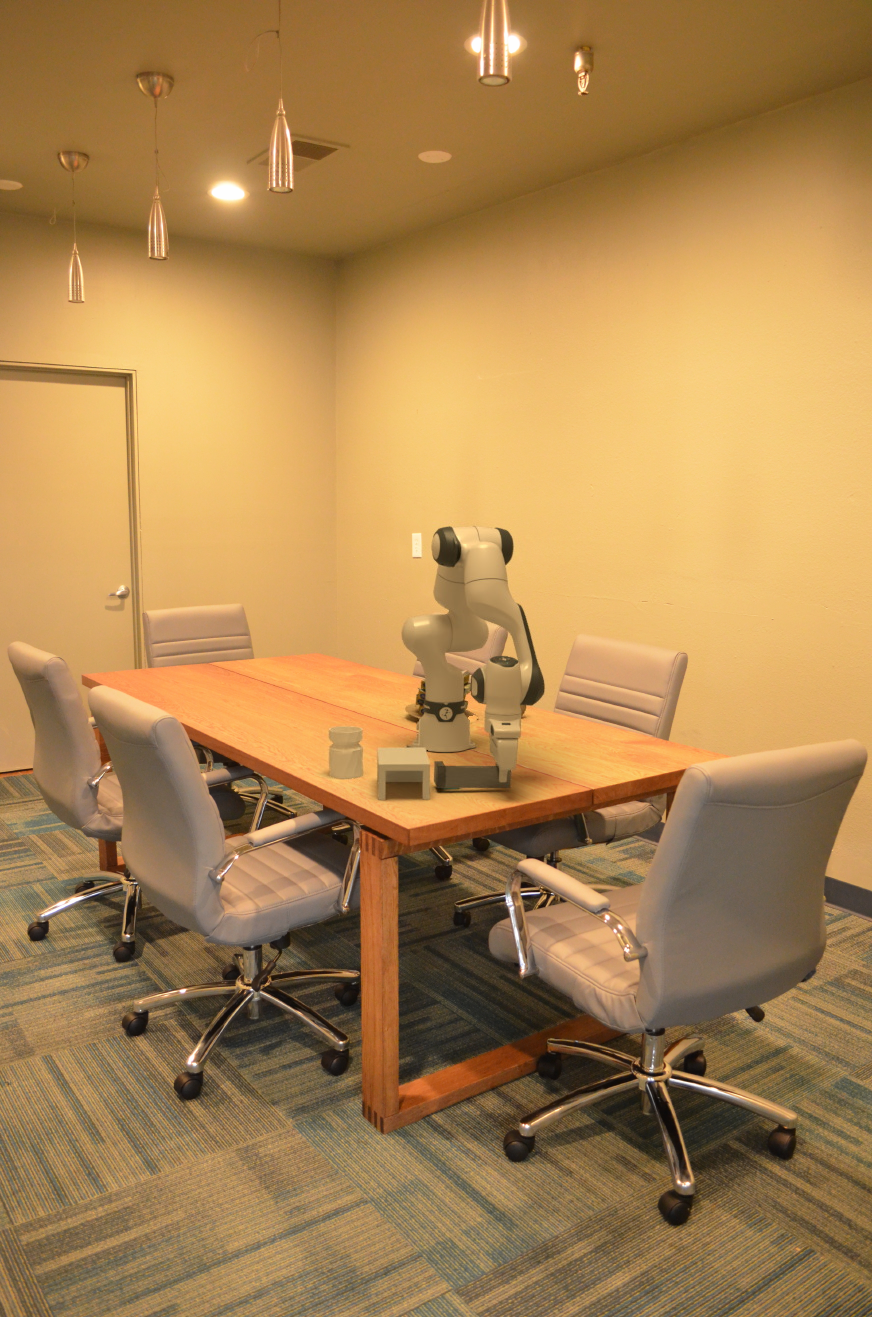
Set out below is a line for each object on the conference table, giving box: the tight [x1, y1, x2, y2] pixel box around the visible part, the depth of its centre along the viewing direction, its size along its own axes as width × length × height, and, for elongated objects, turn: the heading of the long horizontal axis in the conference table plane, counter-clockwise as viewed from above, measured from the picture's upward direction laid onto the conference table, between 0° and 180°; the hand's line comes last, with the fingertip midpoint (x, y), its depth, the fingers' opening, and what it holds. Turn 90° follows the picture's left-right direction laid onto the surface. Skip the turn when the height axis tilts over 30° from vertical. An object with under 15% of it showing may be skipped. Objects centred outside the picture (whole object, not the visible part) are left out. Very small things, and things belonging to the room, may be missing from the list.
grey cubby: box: [376, 747, 431, 801], centre depth 240 cm, size 18×12×8 cm, turn 4°
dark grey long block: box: [433, 760, 512, 789], centre depth 242 cm, size 6×18×5 cm, turn 97°
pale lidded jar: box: [328, 725, 364, 780], centre depth 254 cm, size 9×9×12 cm
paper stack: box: [404, 669, 477, 719], centre depth 332 cm, size 25×25×17 cm
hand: (501, 779), depth 240 cm, fingers closed on dark grey long block, 2 cm apart
